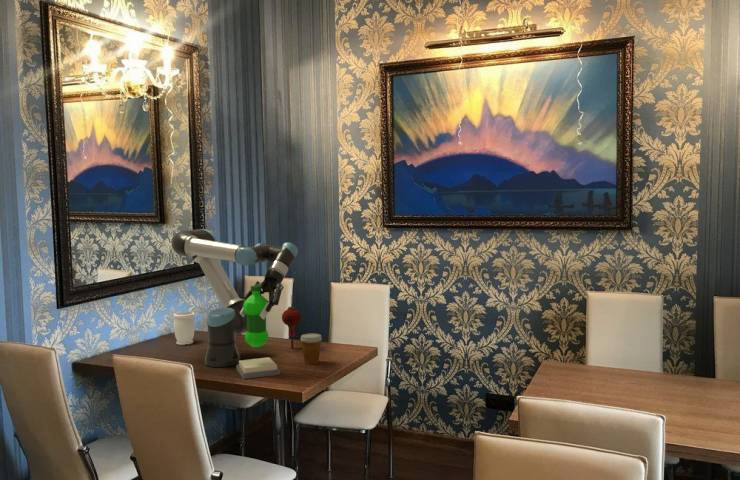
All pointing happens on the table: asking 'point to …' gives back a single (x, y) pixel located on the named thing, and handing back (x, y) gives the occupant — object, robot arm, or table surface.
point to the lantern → (291, 320)
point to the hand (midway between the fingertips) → (251, 316)
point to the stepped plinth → (257, 374)
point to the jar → (184, 327)
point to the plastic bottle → (255, 318)
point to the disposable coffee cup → (311, 347)
